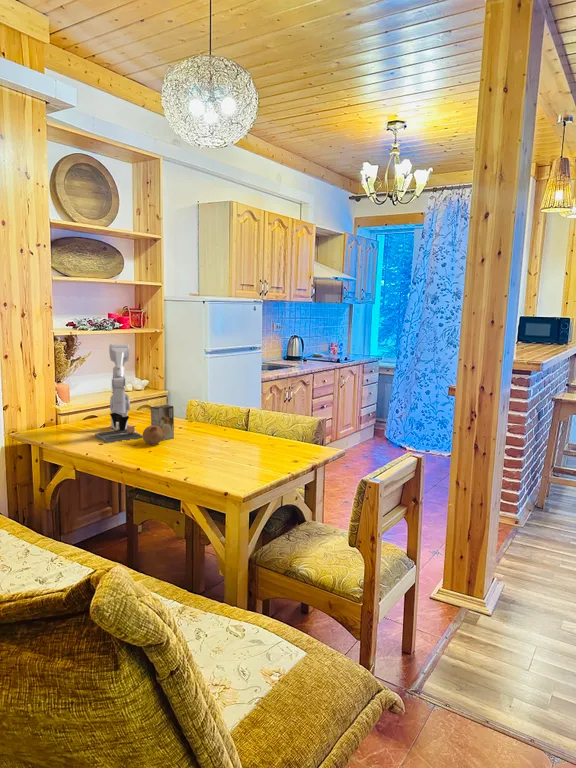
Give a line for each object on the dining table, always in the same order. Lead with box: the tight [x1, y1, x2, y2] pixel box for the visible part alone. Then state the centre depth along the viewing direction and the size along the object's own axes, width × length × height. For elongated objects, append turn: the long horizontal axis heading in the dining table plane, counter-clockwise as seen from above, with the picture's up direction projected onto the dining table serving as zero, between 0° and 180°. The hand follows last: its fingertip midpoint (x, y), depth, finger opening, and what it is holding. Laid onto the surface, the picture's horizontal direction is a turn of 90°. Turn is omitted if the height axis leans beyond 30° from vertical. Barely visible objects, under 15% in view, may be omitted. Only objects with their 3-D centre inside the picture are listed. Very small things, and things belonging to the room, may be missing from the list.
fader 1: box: [116, 422, 122, 432], centre depth 264 cm, size 3×2×5 cm
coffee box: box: [150, 404, 175, 441], centre depth 260 cm, size 9×6×16 cm
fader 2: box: [127, 424, 135, 435], centre depth 258 cm, size 3×2×5 cm
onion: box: [142, 425, 163, 446], centre depth 250 cm, size 10×9×10 cm
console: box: [94, 429, 143, 444], centre depth 260 cm, size 15×18×3 cm
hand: (119, 428), depth 264 cm, fingers open, 7 cm apart
